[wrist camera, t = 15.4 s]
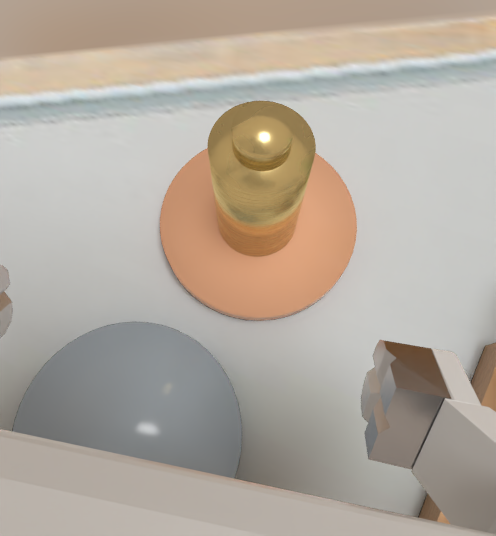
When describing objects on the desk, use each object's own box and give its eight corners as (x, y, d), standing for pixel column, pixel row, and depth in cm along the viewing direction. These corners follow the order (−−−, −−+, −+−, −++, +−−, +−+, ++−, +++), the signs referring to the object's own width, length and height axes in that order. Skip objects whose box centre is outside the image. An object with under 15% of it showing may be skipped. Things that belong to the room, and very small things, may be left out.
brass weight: (202, 233, 25) (183, 145, 17) (241, 172, 26) (241, 64, 18) (273, 270, 24) (287, 197, 16) (309, 206, 25) (339, 109, 17)
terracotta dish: (126, 261, 26) (120, 254, 24) (224, 120, 29) (223, 107, 28) (298, 357, 24) (300, 354, 23) (382, 196, 27) (388, 186, 26)
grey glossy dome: (-25, 480, 22) (-40, 483, 21) (106, 291, 25) (99, 284, 24) (165, 611, 20) (160, 623, 19) (280, 391, 23) (282, 390, 22)
